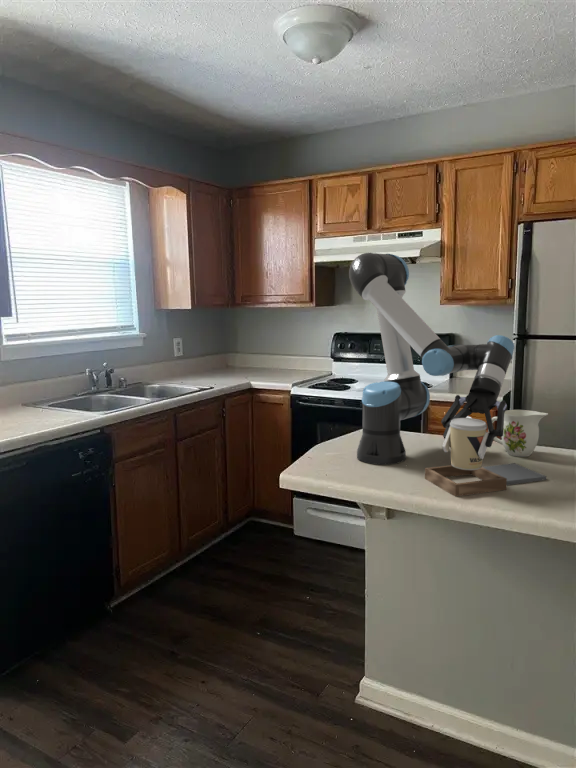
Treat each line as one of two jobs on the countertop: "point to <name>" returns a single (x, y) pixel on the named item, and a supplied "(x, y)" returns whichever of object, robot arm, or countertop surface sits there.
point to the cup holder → (487, 483)
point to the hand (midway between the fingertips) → (462, 452)
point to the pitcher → (520, 431)
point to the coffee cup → (466, 442)
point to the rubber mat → (516, 473)
